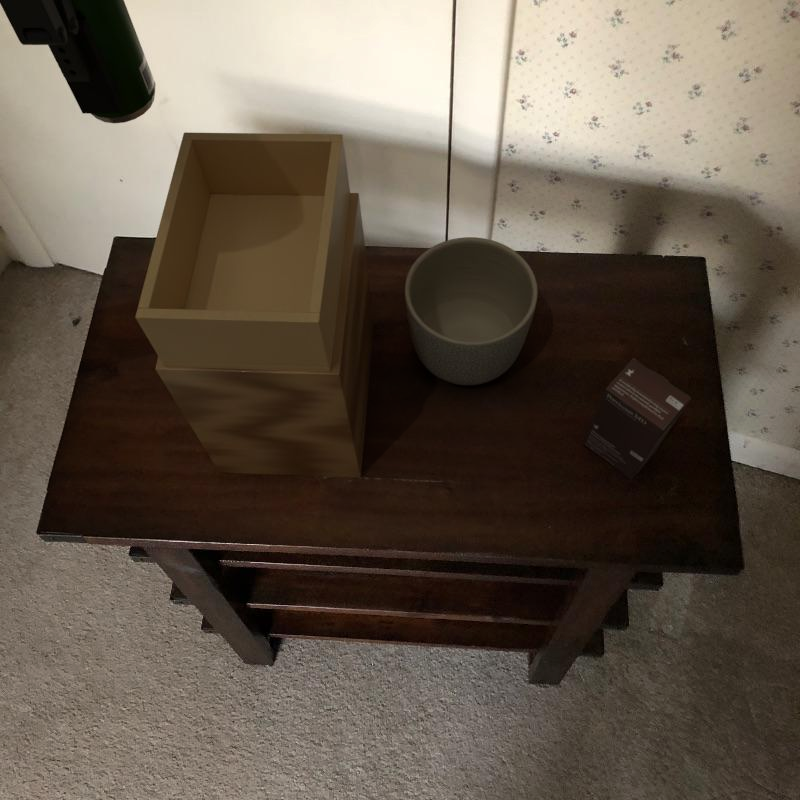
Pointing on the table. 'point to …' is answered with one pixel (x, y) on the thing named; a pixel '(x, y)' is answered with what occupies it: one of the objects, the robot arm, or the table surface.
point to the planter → (469, 308)
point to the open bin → (249, 253)
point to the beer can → (119, 56)
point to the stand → (291, 394)
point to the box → (634, 418)
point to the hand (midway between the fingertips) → (112, 78)
